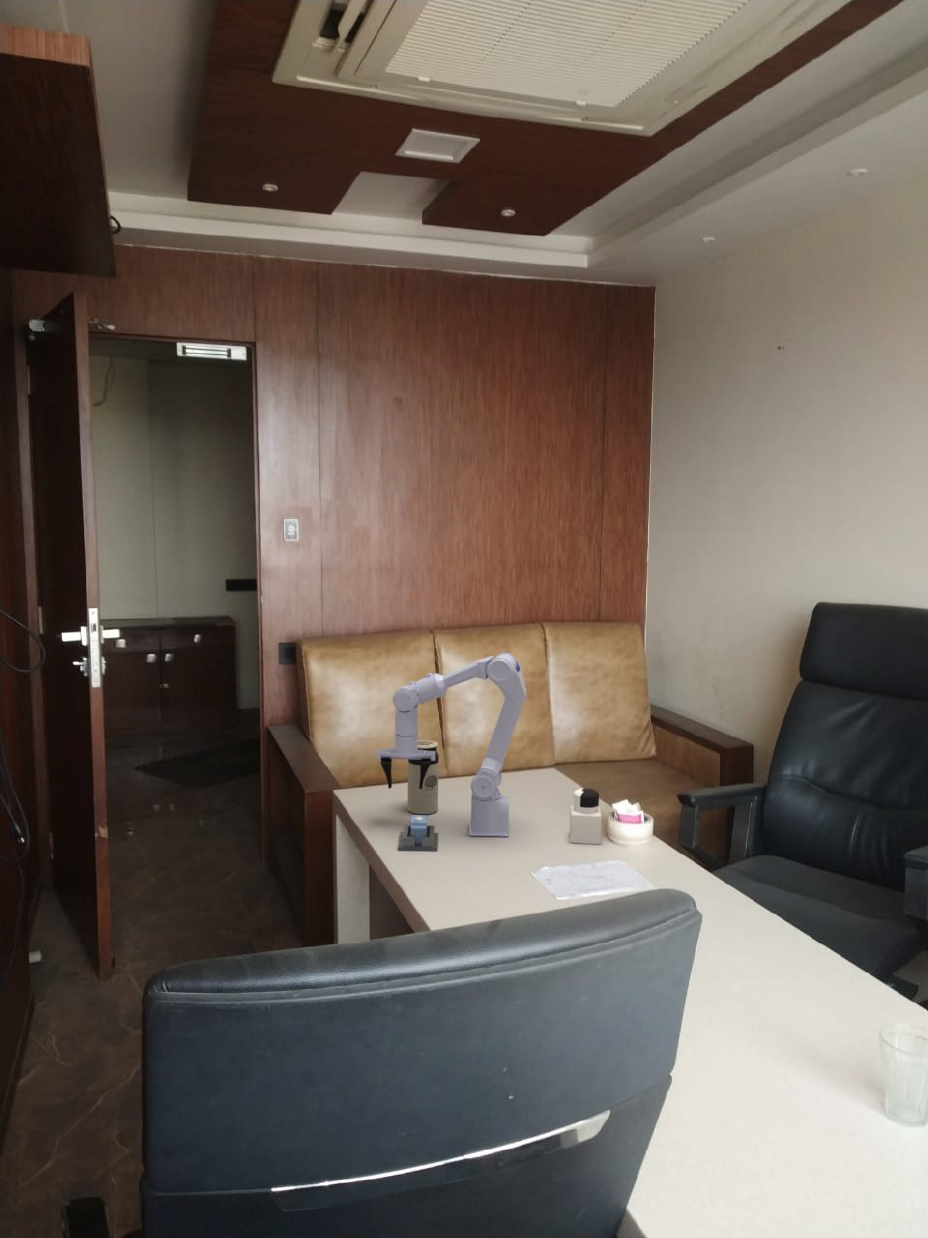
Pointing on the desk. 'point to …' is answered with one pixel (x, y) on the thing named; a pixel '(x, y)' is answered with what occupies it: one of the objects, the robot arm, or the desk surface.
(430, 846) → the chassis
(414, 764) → the travel mug
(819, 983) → the desk surface
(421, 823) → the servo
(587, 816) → the grey rotary knob pedestal
